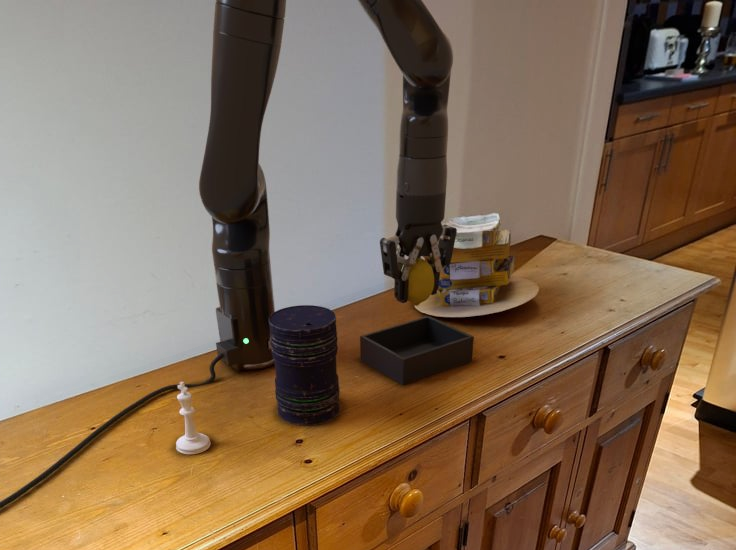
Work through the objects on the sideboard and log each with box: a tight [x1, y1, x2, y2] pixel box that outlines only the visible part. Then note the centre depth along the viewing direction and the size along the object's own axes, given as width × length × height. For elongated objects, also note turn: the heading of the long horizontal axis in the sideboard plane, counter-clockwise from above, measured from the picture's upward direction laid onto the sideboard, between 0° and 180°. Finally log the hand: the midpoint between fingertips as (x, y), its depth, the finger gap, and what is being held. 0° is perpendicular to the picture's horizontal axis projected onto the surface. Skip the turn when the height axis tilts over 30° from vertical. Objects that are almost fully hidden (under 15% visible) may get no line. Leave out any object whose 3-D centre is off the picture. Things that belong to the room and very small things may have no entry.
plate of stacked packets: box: [414, 212, 540, 318], centre depth 139 cm, size 25×25×17 cm
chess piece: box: [175, 381, 211, 455], centre depth 99 cm, size 5×5×10 cm
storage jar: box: [269, 304, 341, 426], centre depth 105 cm, size 10×10×15 cm
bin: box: [359, 315, 475, 386], centre depth 122 cm, size 15×12×4 cm
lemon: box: [406, 256, 434, 307], centre depth 115 cm, size 6×6×8 cm
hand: (416, 297), depth 116 cm, fingers closed on lemon, 5 cm apart
